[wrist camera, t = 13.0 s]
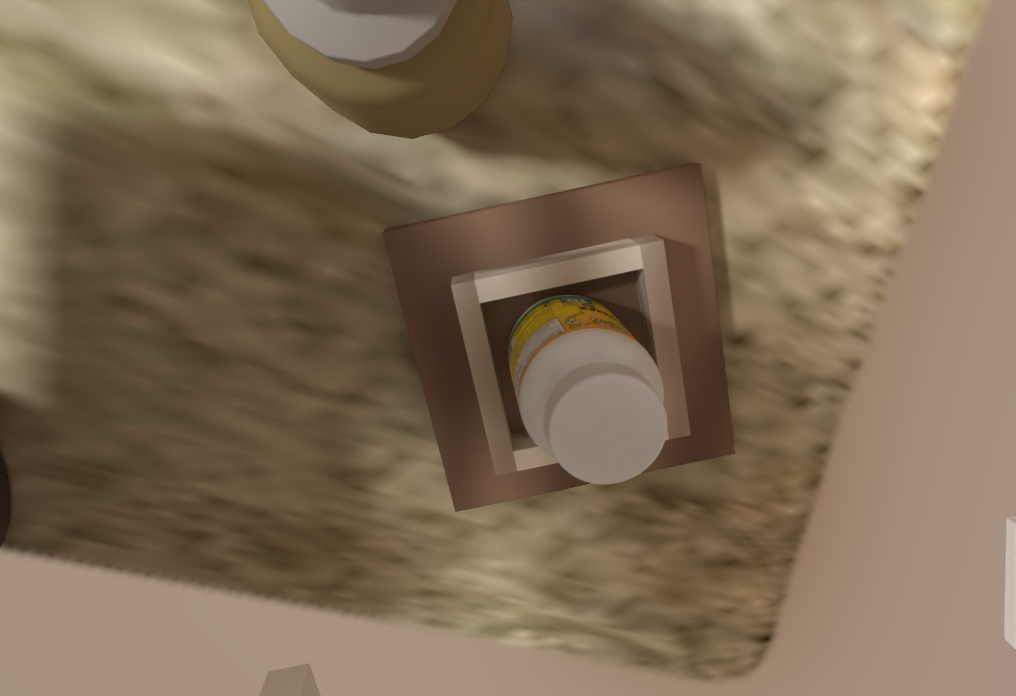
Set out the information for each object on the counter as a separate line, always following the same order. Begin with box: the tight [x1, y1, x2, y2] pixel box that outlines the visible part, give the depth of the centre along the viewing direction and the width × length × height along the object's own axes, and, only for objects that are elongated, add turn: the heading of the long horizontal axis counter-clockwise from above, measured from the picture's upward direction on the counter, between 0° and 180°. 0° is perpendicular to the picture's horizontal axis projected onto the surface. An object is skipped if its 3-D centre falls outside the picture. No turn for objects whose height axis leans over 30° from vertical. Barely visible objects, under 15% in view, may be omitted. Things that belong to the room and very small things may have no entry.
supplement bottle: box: [508, 295, 668, 484], centre depth 27 cm, size 5×5×10 cm
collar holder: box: [383, 163, 735, 512], centre depth 32 cm, size 14×14×3 cm
